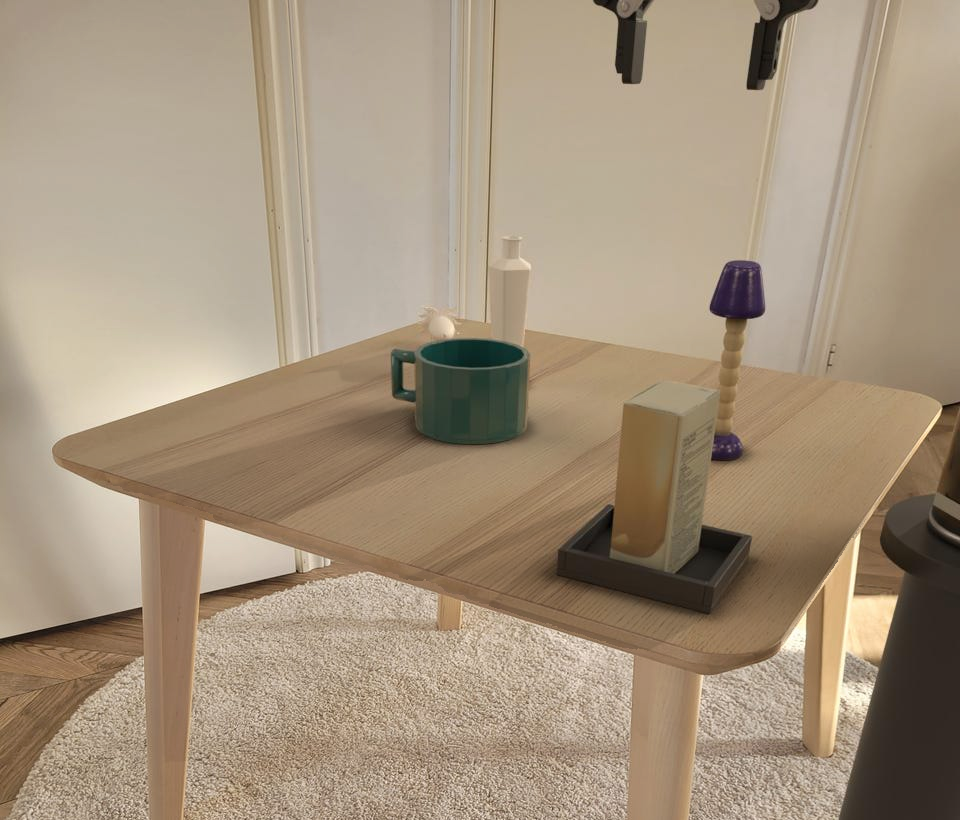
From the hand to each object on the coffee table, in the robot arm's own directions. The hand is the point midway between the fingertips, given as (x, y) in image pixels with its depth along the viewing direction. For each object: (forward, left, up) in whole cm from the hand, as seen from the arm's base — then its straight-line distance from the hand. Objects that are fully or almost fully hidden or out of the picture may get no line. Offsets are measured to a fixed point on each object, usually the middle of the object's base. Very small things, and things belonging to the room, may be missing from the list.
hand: (692, 86), depth 67 cm
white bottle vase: (+24, -23, -30) cm, 45 cm away
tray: (-5, +11, -30) cm, 32 cm away
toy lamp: (-2, -14, -30) cm, 33 cm away
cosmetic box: (-5, +11, -30) cm, 32 cm away
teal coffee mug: (+23, -9, -30) cm, 39 cm away
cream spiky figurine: (+36, -29, -30) cm, 55 cm away
